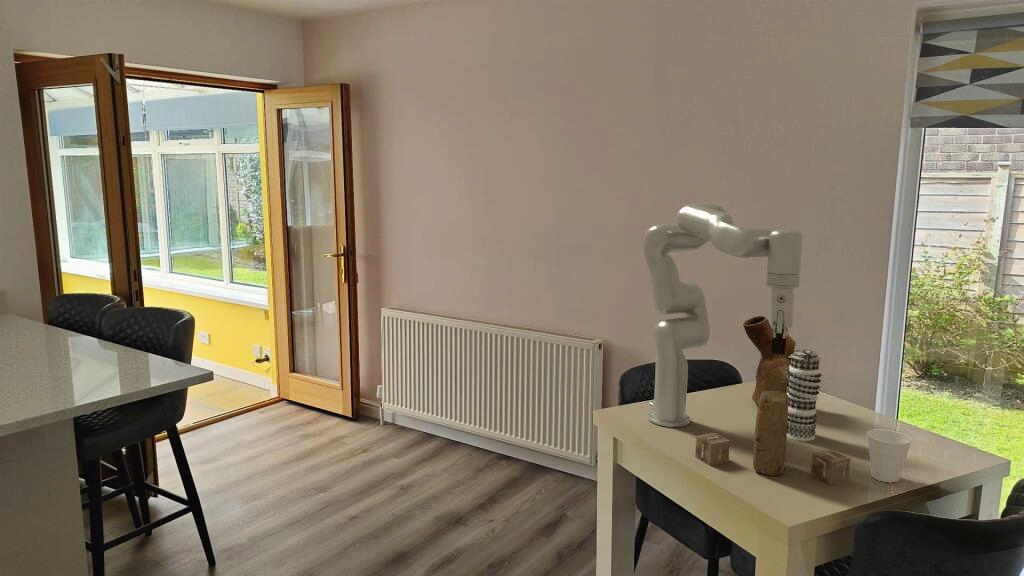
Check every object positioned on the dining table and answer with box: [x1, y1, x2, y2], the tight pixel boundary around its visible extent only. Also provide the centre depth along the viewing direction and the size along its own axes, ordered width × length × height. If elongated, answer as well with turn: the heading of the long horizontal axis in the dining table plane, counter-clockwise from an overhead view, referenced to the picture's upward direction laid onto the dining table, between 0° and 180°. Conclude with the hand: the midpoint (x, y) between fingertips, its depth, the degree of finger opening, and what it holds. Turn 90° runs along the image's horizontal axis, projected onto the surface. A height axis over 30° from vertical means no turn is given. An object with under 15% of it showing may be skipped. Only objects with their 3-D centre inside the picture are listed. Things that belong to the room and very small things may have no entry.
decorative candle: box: [786, 348, 822, 442], centre depth 197 cm, size 9×9×25 cm
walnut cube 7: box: [810, 449, 851, 486], centre depth 170 cm, size 6×6×6 cm
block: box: [752, 391, 788, 476], centre depth 174 cm, size 11×8×20 cm
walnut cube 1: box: [694, 432, 731, 467], centre depth 180 cm, size 6×6×6 cm
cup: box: [866, 428, 913, 484], centre depth 170 cm, size 10×10×11 cm
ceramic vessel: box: [742, 315, 797, 406], centre depth 222 cm, size 16×22×30 cm
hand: (778, 353), depth 171 cm, fingers closed
